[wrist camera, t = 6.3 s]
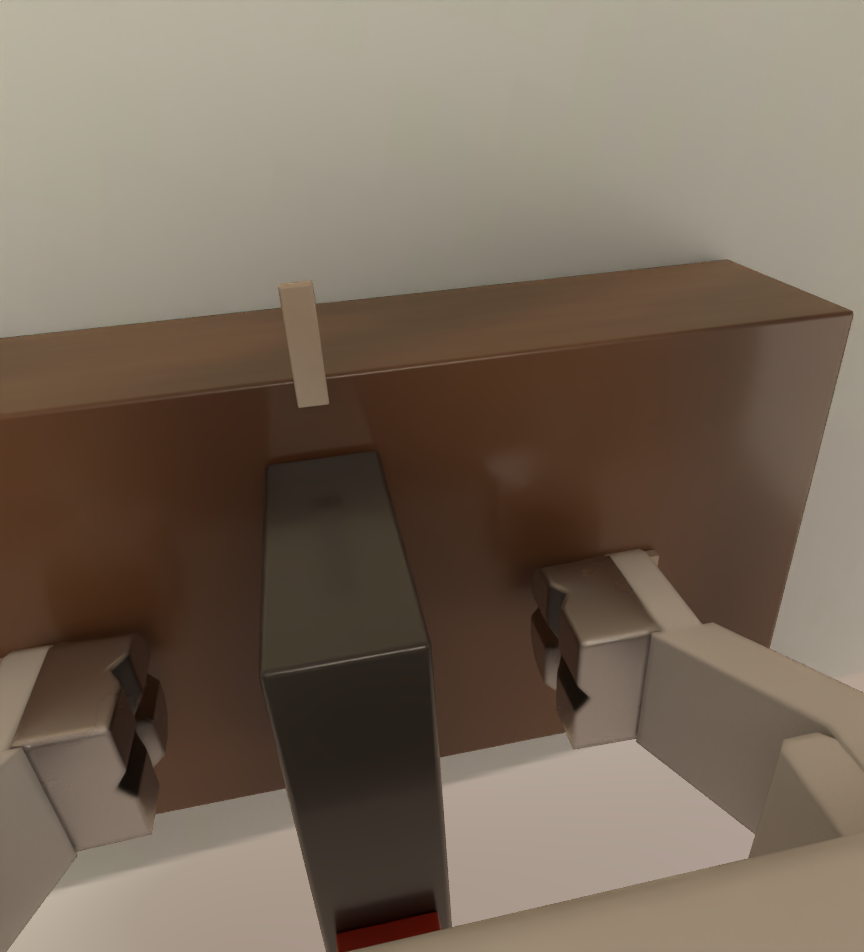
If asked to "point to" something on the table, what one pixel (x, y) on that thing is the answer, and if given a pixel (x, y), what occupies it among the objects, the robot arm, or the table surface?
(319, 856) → the dark brown box
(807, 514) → the table surface
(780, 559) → the dial panel
